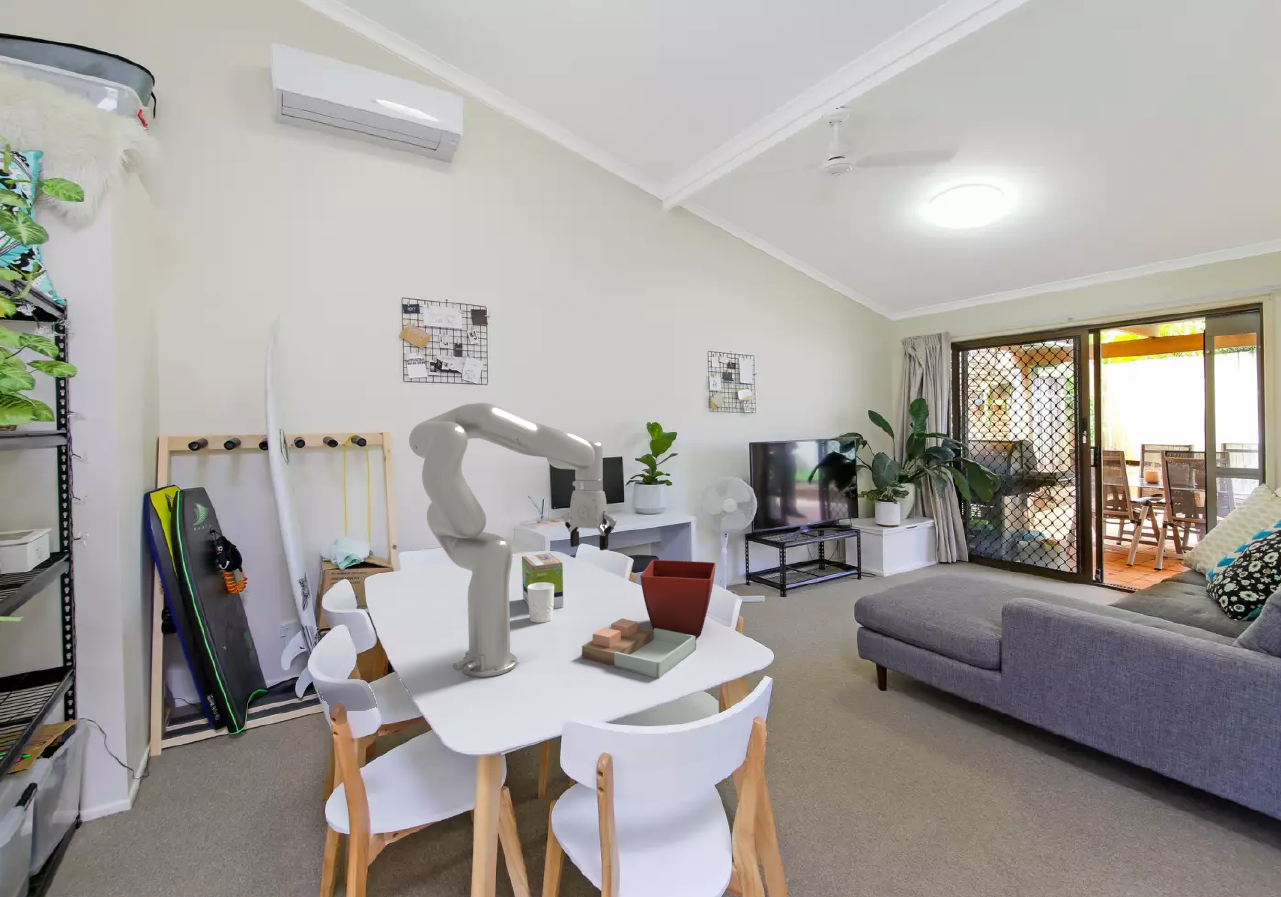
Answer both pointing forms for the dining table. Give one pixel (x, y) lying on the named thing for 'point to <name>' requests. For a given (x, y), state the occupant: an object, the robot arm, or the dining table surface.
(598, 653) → the board
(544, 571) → the tea box
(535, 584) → the white cup
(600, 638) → the tile
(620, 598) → the dining table surface
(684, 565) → the plant pot
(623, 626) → the tile
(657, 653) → the tray
